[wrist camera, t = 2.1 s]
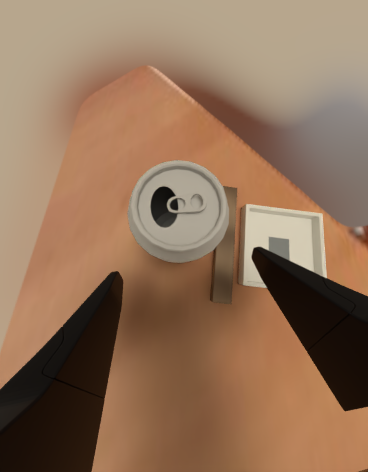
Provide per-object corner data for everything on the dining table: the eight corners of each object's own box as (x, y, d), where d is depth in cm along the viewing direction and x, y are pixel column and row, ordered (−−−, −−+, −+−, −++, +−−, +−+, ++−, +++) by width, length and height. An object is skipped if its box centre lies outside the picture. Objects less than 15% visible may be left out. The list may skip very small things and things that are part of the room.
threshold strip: (228, 301, 19) (231, 304, 18) (210, 299, 19) (212, 302, 18) (234, 191, 22) (237, 188, 21) (218, 190, 22) (221, 185, 21)
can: (151, 212, 21) (118, 150, 10) (201, 210, 22) (231, 147, 10) (152, 265, 20) (116, 267, 8) (206, 261, 20) (247, 258, 9)
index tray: (316, 292, 20) (327, 295, 19) (238, 283, 20) (243, 285, 18) (312, 217, 22) (322, 213, 21) (241, 208, 22) (246, 203, 20)
